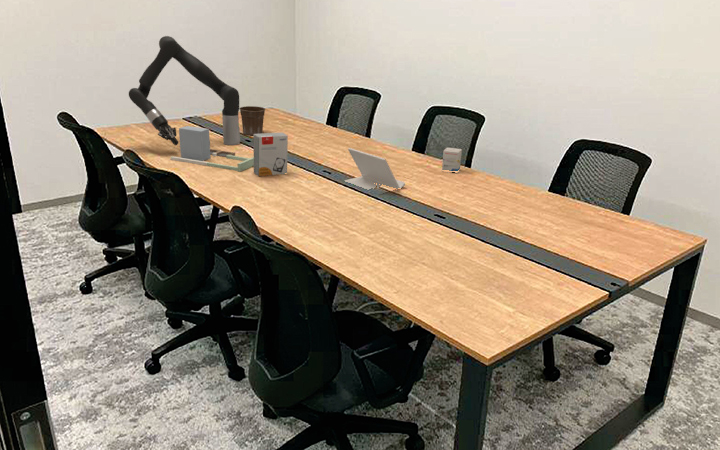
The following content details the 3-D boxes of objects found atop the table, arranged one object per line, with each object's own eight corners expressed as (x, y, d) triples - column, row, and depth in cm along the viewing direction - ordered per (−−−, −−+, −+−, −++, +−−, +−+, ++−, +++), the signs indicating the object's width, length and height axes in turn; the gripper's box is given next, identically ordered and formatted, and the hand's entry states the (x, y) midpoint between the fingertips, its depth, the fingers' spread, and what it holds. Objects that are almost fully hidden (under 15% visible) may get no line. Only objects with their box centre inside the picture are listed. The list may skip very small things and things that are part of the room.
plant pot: (271, 133, 375) (270, 108, 369) (254, 137, 363) (253, 111, 357) (252, 129, 383) (251, 105, 377) (234, 133, 370) (233, 108, 365)
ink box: (460, 170, 314) (462, 148, 310) (457, 174, 307) (459, 152, 302) (444, 167, 317) (446, 146, 312) (441, 171, 309) (443, 150, 305)
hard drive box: (258, 177, 287) (257, 137, 279) (253, 172, 293) (252, 133, 286) (287, 174, 293) (287, 135, 286) (282, 170, 300) (282, 131, 292)
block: (189, 154, 319) (187, 125, 313) (210, 158, 315) (209, 129, 309) (180, 157, 313) (178, 128, 307) (202, 161, 309) (200, 131, 303)
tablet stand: (379, 195, 269) (381, 159, 262) (343, 182, 285) (344, 148, 279) (405, 188, 280) (408, 153, 274) (369, 176, 297) (371, 143, 291)
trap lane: (199, 149, 330) (198, 142, 329) (266, 160, 316) (266, 153, 314) (169, 160, 308) (169, 152, 306) (240, 171, 293) (239, 164, 292)
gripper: (152, 116, 308) (172, 142, 308) (168, 112, 319) (188, 137, 319) (144, 125, 311) (165, 150, 312) (161, 121, 323) (181, 145, 323)
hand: (177, 144), depth 316 cm, fingers closed
